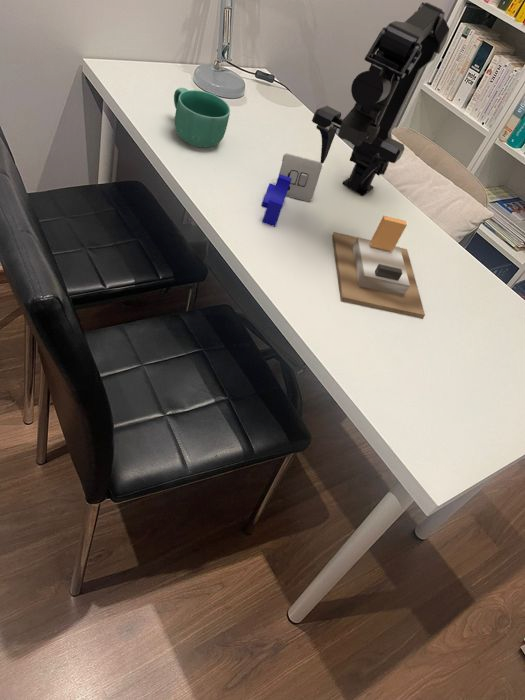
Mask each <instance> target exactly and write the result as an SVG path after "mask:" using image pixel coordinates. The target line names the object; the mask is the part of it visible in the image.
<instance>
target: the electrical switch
mask: <svg viewBox="0 0 525 700" xmlns="http://www.w3.org/2000/svg"><path fill="white" fill-rule="evenodd" d="M322 168H323V164H322V163H321V161H317V160H314V159H310V158H306V157H302V156H299V155H294V154H290V153H287V152H286V153H284V154H283V155H282V160H281V167H280V168H279V169H280V170H279V173H278V175H279V174H281V175H284V176H287V177H289V178H292V180H291V182H290V185H289V188H288V191H287V194H286V197H289V198H294V199H298V200H302V201H305V202H311V201H313V197H314V195H315V191H316V188H317V185H318V182H319V177H320V176H321V172H322V171H321V170H322Z"/></svg>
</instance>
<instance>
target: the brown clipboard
mask: <svg viewBox="0 0 525 700" xmlns="http://www.w3.org/2000/svg"><path fill="white" fill-rule="evenodd" d="M331 237H332V244H333V249H334V251H333V252H334V258H335V259H334V260H335V267H336V271H337V272H336V274H337V281H338V289H339V295H340V296H339V297H340V301H341V302H345V303H350V304H353V305H358V306H363V307H368V308H372V309H378V310H382V311H386V312H392V313H397V314H401V315H405V316H411V317H414V318H415V317H416V318H420V319H424V318H425V316H426V313H425V310H424V307H423V303H422V298H421V295H420V292H419V289H418V285H417V280H416V276H415V273H414V269H413V267H412V263H411V258H410V255H409V252H408V251H409V250H408V249H407V248H404V247H400V246H397V245H396V246H395V248H394V249H393V251H389V250H385V249H381V248H376V247H372V246H371V244H370V241H371V239H367V238H362V237H359V236H353V235H349V234H345V233H341V232H340V233H339V232H335V231H333V233H332V236H331Z"/></svg>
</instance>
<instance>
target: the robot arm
mask: <svg viewBox="0 0 525 700" xmlns="http://www.w3.org/2000/svg"><path fill="white" fill-rule="evenodd" d="M445 15H446V12H445V11H443V9H442V8H440V7H438V6H437V5H436V6H435V5H433V4H431V3H430V2H424V1H423V2H421V3H420V5H419V7H418V9H417V10H416V11H414V12H413V13H412V15H410V16H409V17H408V18H407V19H406V20H405V21H397V20H394V21H392V22H389V23H388V24H387V26H386V27H382V29H381V30H380V31H379V33H378V35H377V36H376V39H375V40H374V42H373V44H372V45H371V47H370V48H369V50H368V52H367V53H366V55H365V57H364V61H366V62H367V63H370V66H369V68H368V70H365V71H363V72H360V73H359V74H358V75H356V77H355V78H354V79H353V81H352V82H351V83H352V84H351V88H350V89H351V91H350V93H351V96H352V99H353V100H354V101H355V103H354V106H353V107H352V109H351V110H349V112H348V113H347V114H346V116H345V117H343V118H342V112H341V111H339V110H337V109H335V108H333V107H330V106H329V105H325V106H323V107H319V108H318V109H316V111H315V112H314V114H313V117H312V120H311V122H312V123H313V124H315V125H316V130H318V131H319V132H320V136H321V148H320V149H321V150H320V152H321V153H320V162H321V163H322V165H323V164H324V163H325V161H326V159H327V157H328V154H329V153H330V149H331V147H332V144H333V141H334V138H335V136H336V133H337V130H338V133H337V136H338V138H339V139H342V140H345V141H347V142H349V143H351V145H353V149H352V150H351V151H352V152H351V156H350V158H349V161H350V162H353V163H354V166H353V167H352V171H351V173H350V175H349V177H348V178H346V179H345V180H343V181H342V183H341V184H342V185H344V187H347V188H348V189H349V190H351V191H354V192H355V193H357V194H358V195H360V196H361V197H362V196H366V195H367V194H368V193H370V192H371V191H372V190H374V188H375V187H374V186H373V185H371V184H372V182H373V180H374V177H375V176H378V177H379V176H380V175H385V173H386V171H387V169H388V166H389V163H392V164H396V162H398V161H399V160H400V159H401V158H402V155H403V154H404V151H405V149H406V148H405V145H404V143H401V142H399V141H397V139H394V138H392V137H393V136H392V130H393V128H394V127H395V125H396V123H397V120H398V118H399V116H400V114H401V112H402V110H403V108H404V106H405V105H406V102H407V101H408V98H409V96H410V93H411V92H412V89H413V88H414V85H415V83H416V82H417V80H418V77H419V76H420V73H421V71H422V69H423V68H425V67H427V66H428V65H429V64H430V63H432V62H433V61H434V60H435V59H436V56H437V54H438V55H439V54H441V52H442V50H443V49H444V47H445V45H446V43H447V40H448V36H449V33H450V28H449V25H448V23H447V22H446V20H445Z"/></svg>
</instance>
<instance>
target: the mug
mask: <svg viewBox="0 0 525 700" xmlns="http://www.w3.org/2000/svg"><path fill="white" fill-rule="evenodd" d="M173 103H174V104H173V105H174V107H175V113H174V114H175V115H174V129H175V131H176V133H177V135H178V136H179V137H180V139H182V140H183V141H185V143H187V144H189V145H191V146H193V147H197V148H209V147H214V146H216V145H218V144H220V142H221V141H222V140H223V139H224V136H225V135H226V132H227V127H228V124H229V119H230V115H231V109H230V106H229V104H228V102H226V101H225V100H224V99H223V98H221V97H219V96H218V95H216V94H213V93H210V92H208V91H207V92H206V91H203V90H197V89H196V90H195V89H190V90H188V89H187V88H185V87H179V88H177V89H176V90H175V91H174V93H173Z"/></svg>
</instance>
